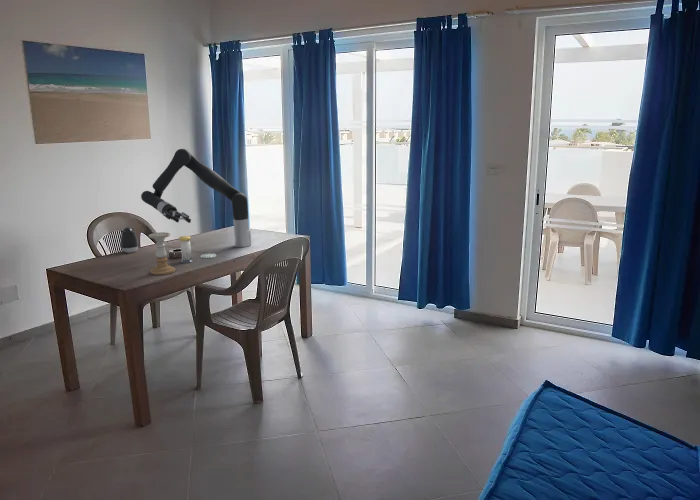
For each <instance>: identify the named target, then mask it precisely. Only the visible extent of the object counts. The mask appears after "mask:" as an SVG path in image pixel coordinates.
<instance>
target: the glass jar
mask: <svg viewBox="0 0 700 500" xmlns="http://www.w3.org/2000/svg"><path fill="white" fill-rule="evenodd" d="M178 241H180V242H179V243H180V251H181V252H180V253H181V254H180V255H181V260H182V259H190V258H191V259H192V247H191V241H192V238H191V235H184V236H183V235H182V236H179V237H178Z"/></svg>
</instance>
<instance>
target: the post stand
mask: <svg viewBox="0 0 700 500" xmlns="http://www.w3.org/2000/svg"><path fill="white" fill-rule="evenodd" d="M192 262H194V259H192V258H190V259H182V258H181V260H180V263H181V264H189V263H192Z"/></svg>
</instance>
